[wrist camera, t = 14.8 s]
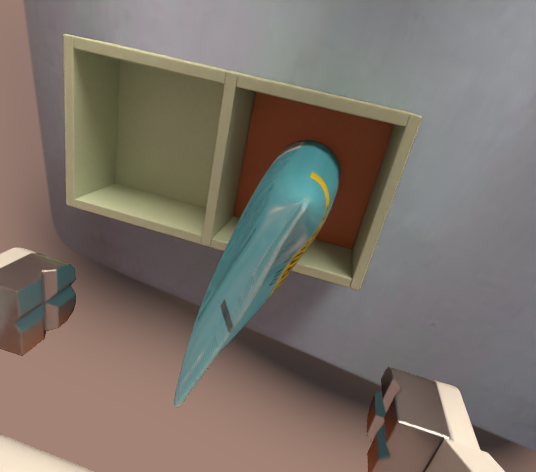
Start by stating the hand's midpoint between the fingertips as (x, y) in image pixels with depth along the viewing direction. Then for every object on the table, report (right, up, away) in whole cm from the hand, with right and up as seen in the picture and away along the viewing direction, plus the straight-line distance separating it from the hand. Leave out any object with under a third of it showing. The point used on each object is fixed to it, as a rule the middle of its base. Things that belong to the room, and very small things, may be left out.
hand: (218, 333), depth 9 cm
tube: (+4, +7, +18) cm, 20 cm away
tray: (-1, +9, +19) cm, 21 cm away
